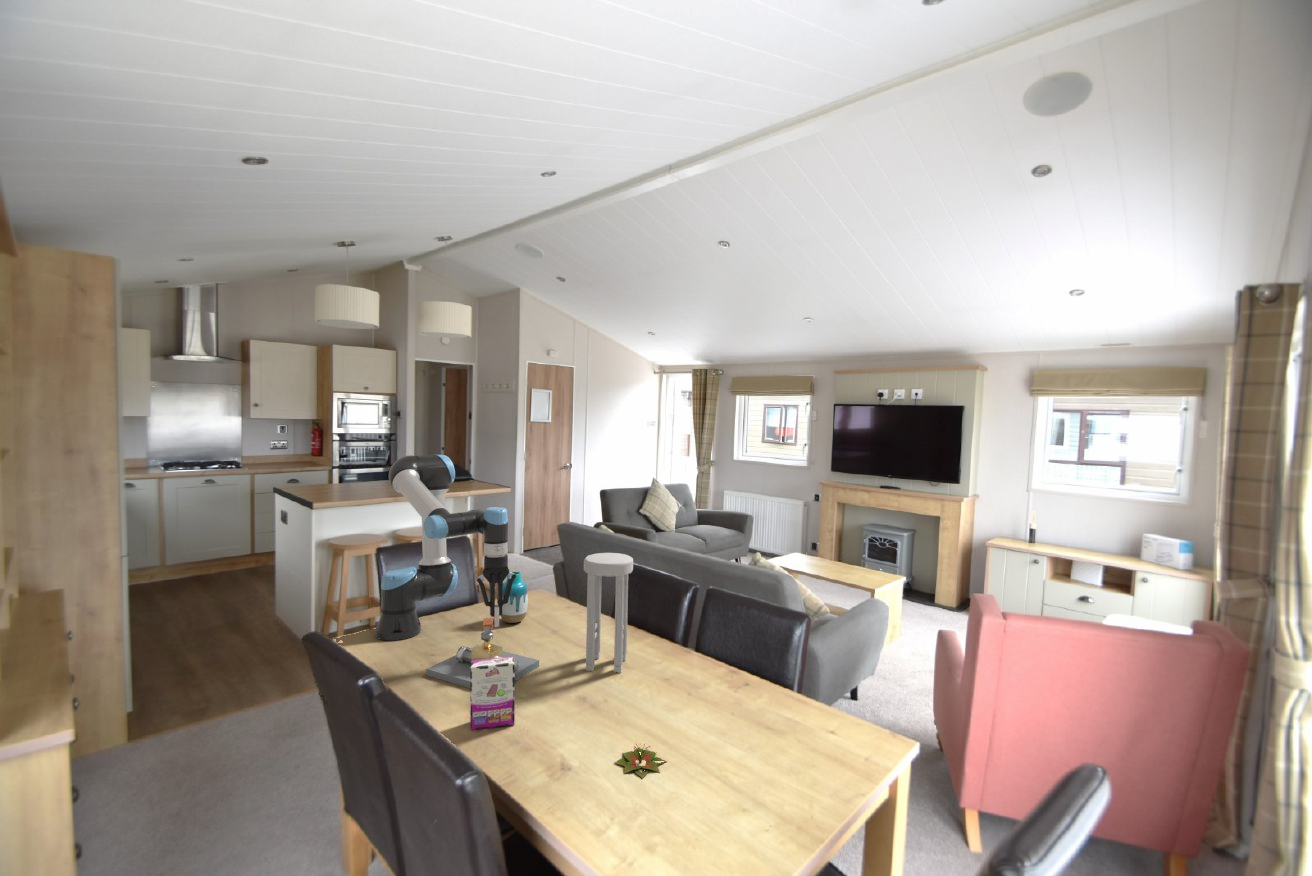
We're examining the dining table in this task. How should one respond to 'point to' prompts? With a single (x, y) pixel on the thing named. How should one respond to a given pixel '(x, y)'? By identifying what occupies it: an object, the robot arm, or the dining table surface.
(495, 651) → the valve pipe
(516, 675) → the valve board
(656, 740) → the dining table surface
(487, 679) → the candy bar box
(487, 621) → the valve lever
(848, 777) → the dining table surface
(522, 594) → the vase
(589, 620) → the stool
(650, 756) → the lily flower
